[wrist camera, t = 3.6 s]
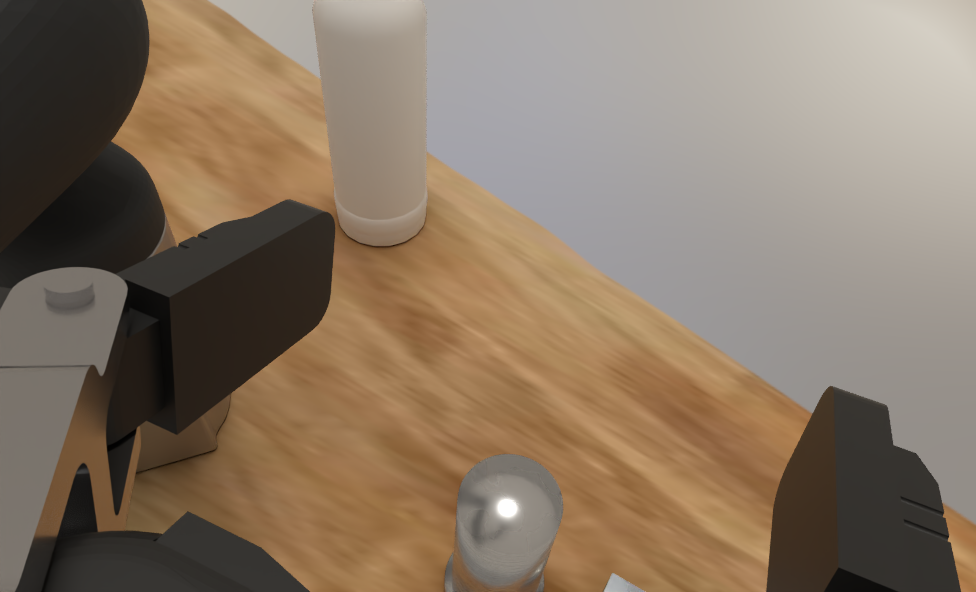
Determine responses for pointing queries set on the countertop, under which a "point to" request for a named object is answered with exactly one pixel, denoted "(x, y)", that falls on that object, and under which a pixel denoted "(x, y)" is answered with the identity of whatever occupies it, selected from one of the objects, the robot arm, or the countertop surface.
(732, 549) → the countertop surface
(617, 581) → the base plate
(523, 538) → the flanged metal cylinder
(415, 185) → the bottle
